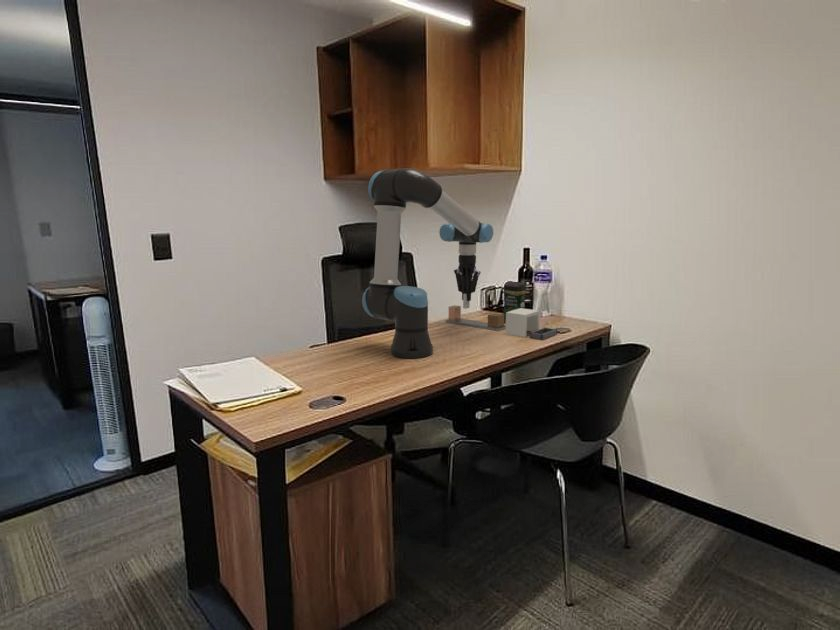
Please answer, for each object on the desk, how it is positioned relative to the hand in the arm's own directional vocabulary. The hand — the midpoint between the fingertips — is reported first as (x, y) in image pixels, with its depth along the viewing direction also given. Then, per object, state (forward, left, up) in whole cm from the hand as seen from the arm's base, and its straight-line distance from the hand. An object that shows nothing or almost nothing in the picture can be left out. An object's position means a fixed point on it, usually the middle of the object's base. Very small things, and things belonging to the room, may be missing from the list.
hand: (466, 308), depth 228 cm
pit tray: (+1, -38, -7) cm, 38 cm away
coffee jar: (+16, -15, -8) cm, 23 cm away
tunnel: (+1, -28, -7) cm, 29 cm away
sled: (+1, -5, -7) cm, 9 cm away
